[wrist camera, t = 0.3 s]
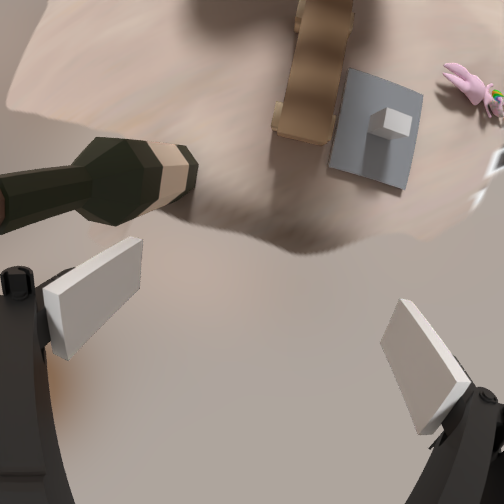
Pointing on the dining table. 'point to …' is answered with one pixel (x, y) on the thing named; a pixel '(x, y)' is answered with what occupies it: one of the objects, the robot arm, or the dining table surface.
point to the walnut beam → (315, 71)
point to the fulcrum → (376, 129)
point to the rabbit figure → (475, 89)
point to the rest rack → (297, 27)
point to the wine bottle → (100, 184)
